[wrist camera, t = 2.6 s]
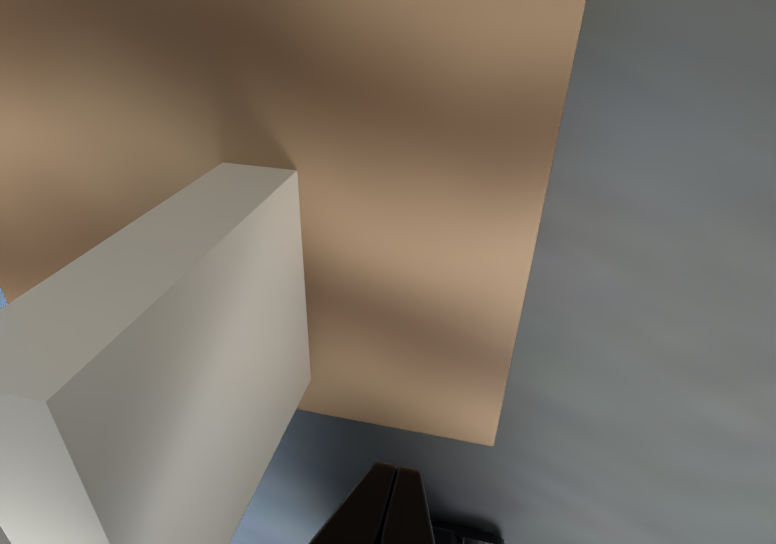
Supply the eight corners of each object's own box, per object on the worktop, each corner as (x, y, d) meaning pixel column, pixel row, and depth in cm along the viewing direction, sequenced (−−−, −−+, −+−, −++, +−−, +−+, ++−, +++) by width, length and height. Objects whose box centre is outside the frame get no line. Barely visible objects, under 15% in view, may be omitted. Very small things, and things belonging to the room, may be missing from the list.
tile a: (311, 379, 16) (166, 669, 9) (248, 367, 16) (67, 640, 10) (296, 170, 12) (45, 401, 6) (217, 161, 13) (-107, 370, 6)
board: (494, 422, 17) (493, 446, 16) (53, 342, 20) (32, 358, 19) (786, -1026, 5) (838, -1213, 4) (-377, -719, 8) (-480, -799, 7)
